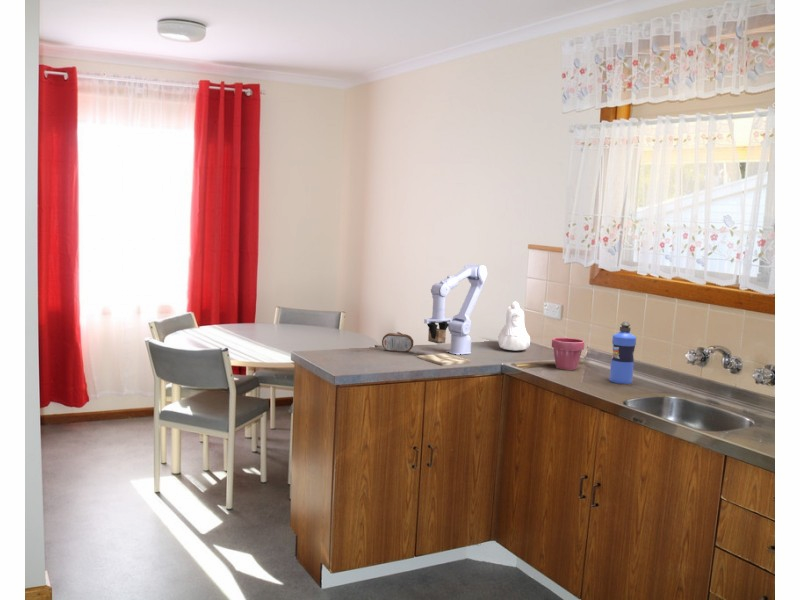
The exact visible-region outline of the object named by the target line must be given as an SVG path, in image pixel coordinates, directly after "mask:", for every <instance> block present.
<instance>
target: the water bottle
mask: <svg viewBox="0 0 800 600" xmlns="http://www.w3.org/2000/svg"><path fill="white" fill-rule="evenodd" d="M630 326H631V324H630V322H628V321H623V322H622V323H620V326H619V332H618V333H615V334H612V340H611V342H612V355H611V359H610V370H609V382H611V383H616V384H620V385H630V384H633V377H634V366H635V365H634V363H635V362H634V361H635V358H634V353H635V348H636V345H637V336H635V335H633V334H632V333H631V329H632V327H630Z"/></svg>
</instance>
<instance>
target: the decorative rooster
mask: <svg viewBox="0 0 800 600" xmlns="http://www.w3.org/2000/svg"><path fill="white" fill-rule="evenodd" d="M506 311H507V312H506V316H505V317H506V320H505V324H504V326H503V327H502V329H501V330H500V332H499V335H498V337H497V338H498V345H499V348H501V349H503V350H506V351H516V352H517V351H524V350H526V349H528V348H529V347H530V345H531V344H530V343H531V336H530V335H529V333H528V332H527V329H526V326H525V324H526V323H525V312H524V310H523V309H522V308H520V303H519V302H517V301H516V300H515V301H513V302H511V305H509V306H508V307H507V310H506Z"/></svg>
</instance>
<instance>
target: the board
mask: <svg viewBox="0 0 800 600" xmlns="http://www.w3.org/2000/svg"><path fill="white" fill-rule="evenodd" d="M418 357H419V358H418ZM417 358H418V359H420V358H422V359H421V360H423V359H424V360H425V361H427V362H431V363H432V364H433V363H434V364H436V365H440V366H450V365H461V364H468V363H469V364H470V363H471V359H466V358H463V357H460V356H458V355H455V354H451V353H448V352H446V353H445V352H444V353H433V354H422V355H420V354H419V355H418V356H417Z"/></svg>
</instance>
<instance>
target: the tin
mask: <svg viewBox="0 0 800 600" xmlns="http://www.w3.org/2000/svg"><path fill="white" fill-rule="evenodd" d="M381 345H382V348H383V349H385V350H386V351H388V352H397V351H398V352H397V353H399V352H400V351H401V352H400V353H407V352H409V351H411V350H412V348H413V347H414V339H413V338H412V336H410V335H409V334H406V333H404V334H403V333H394V332H393V333H391V332H390V333H389V332H388V333H386V334H385V335H384V336H383V337H382V340H381Z"/></svg>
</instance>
